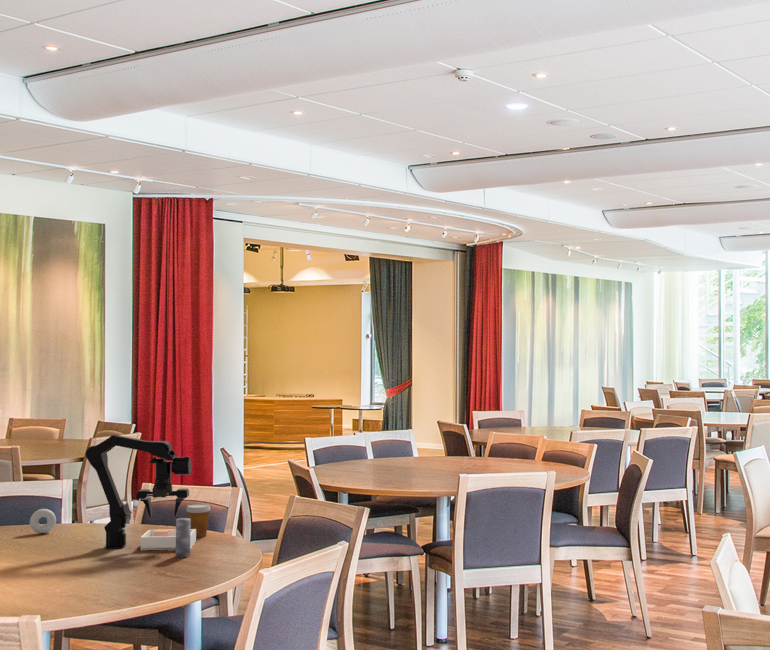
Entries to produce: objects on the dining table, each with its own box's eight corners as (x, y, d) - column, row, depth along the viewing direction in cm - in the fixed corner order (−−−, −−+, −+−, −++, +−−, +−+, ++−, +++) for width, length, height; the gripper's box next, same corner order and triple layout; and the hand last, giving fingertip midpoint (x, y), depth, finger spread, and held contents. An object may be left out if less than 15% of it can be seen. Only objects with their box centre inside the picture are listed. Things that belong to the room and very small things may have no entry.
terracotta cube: (154, 545, 314) (154, 531, 314) (156, 542, 319) (156, 529, 319) (167, 545, 314) (167, 531, 314) (170, 542, 319) (170, 529, 319)
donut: (29, 535, 339) (29, 510, 339) (29, 533, 342) (29, 508, 343) (56, 533, 343) (56, 508, 343) (55, 531, 346) (56, 507, 346)
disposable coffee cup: (213, 533, 340) (213, 503, 341) (206, 538, 331) (206, 507, 331) (190, 533, 341) (190, 503, 342) (182, 538, 332) (182, 507, 332)
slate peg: (174, 557, 297) (174, 520, 298) (177, 554, 302) (177, 518, 303) (188, 557, 298) (189, 520, 298) (191, 554, 303) (191, 517, 303)
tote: (140, 551, 309) (140, 537, 309) (148, 543, 323) (148, 529, 323) (190, 550, 310) (190, 536, 310) (196, 542, 324) (196, 529, 324)
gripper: (133, 478, 309) (132, 521, 308) (184, 477, 310) (184, 520, 309) (139, 474, 320) (139, 515, 319) (189, 473, 321) (189, 514, 321)
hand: (162, 516), depth 317 cm, fingers open, 9 cm apart
